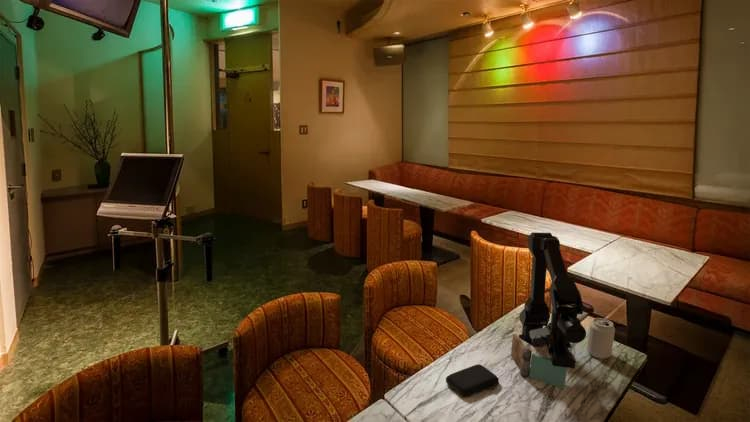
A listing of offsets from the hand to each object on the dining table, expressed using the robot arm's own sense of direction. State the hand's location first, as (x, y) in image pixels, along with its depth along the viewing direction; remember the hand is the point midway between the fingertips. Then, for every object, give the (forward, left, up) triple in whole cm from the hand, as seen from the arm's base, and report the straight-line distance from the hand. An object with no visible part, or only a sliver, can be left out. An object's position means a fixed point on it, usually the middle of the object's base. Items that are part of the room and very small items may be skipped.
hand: (555, 370), depth 136 cm
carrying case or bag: (-10, -24, -3) cm, 26 cm away
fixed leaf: (-10, -5, -3) cm, 11 cm away
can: (-2, +24, -3) cm, 24 cm away
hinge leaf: (-1, -5, -2) cm, 5 cm away
